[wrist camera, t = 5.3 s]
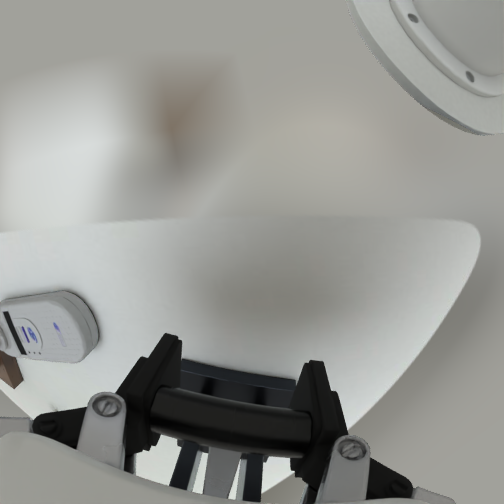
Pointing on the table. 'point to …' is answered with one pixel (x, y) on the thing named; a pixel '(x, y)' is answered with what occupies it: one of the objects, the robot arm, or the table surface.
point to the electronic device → (47, 327)
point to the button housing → (9, 370)
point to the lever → (229, 431)
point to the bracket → (235, 389)
